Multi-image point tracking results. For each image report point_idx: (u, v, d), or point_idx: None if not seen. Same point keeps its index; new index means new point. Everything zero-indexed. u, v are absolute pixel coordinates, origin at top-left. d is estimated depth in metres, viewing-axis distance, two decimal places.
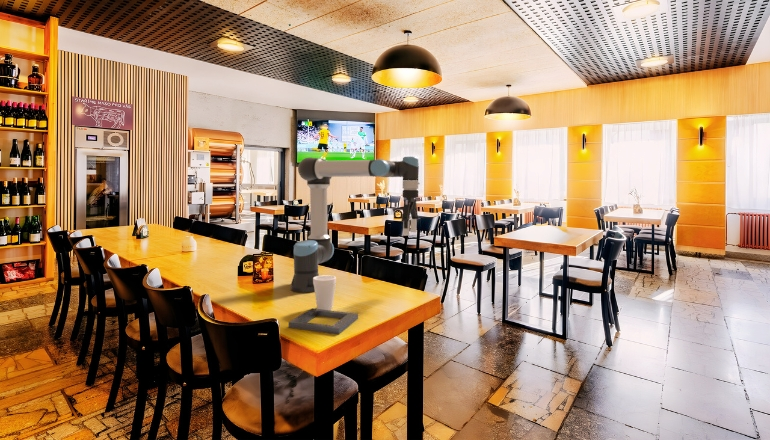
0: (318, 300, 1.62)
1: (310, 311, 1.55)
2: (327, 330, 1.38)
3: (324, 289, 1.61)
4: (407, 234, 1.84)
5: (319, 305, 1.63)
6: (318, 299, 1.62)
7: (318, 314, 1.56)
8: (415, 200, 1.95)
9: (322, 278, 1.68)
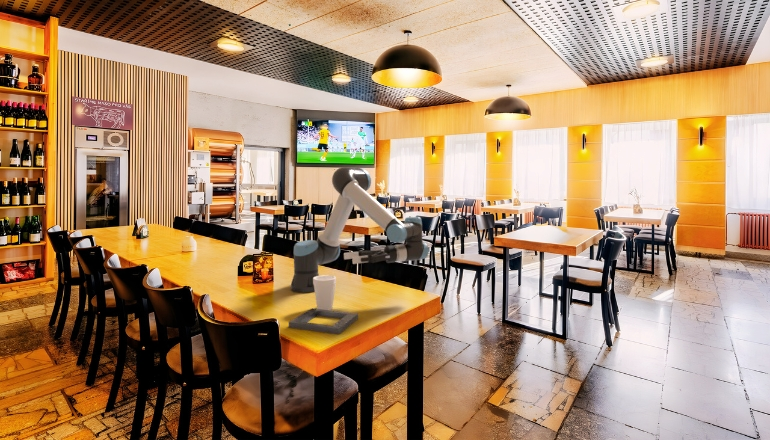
0: (318, 300, 1.62)
1: (310, 311, 1.55)
2: (327, 330, 1.38)
3: (324, 289, 1.61)
4: (354, 262, 1.62)
5: (319, 305, 1.63)
6: (318, 299, 1.62)
7: (318, 314, 1.56)
8: None
9: (322, 278, 1.68)
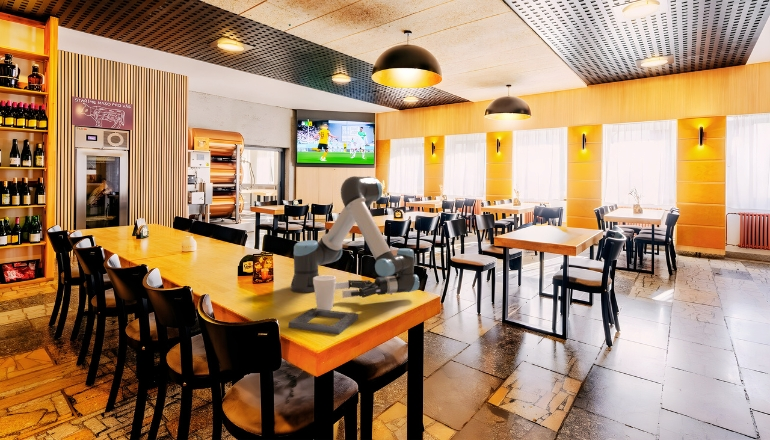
0: (318, 300, 1.62)
1: (310, 311, 1.55)
2: (327, 330, 1.38)
3: (324, 289, 1.61)
4: (344, 296, 1.60)
5: (319, 305, 1.63)
6: (318, 299, 1.62)
7: (318, 314, 1.56)
8: None
9: (322, 278, 1.68)
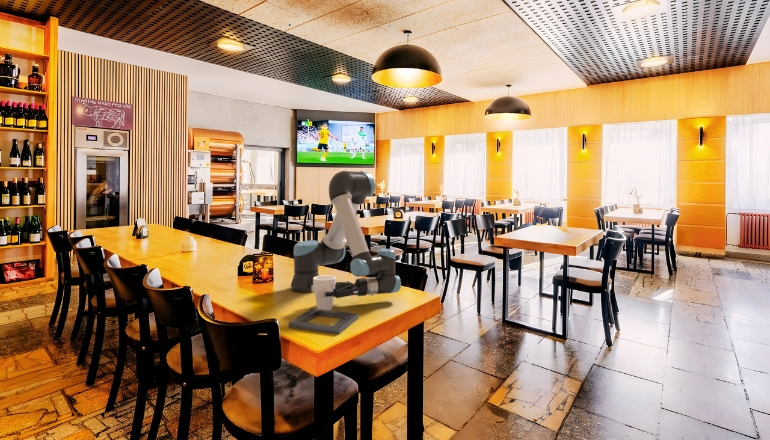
0: (318, 300, 1.62)
1: (310, 311, 1.55)
2: (327, 330, 1.38)
3: (324, 289, 1.61)
4: (318, 296, 1.59)
5: (319, 305, 1.63)
6: (318, 299, 1.62)
7: (318, 314, 1.56)
8: None
9: (322, 278, 1.68)
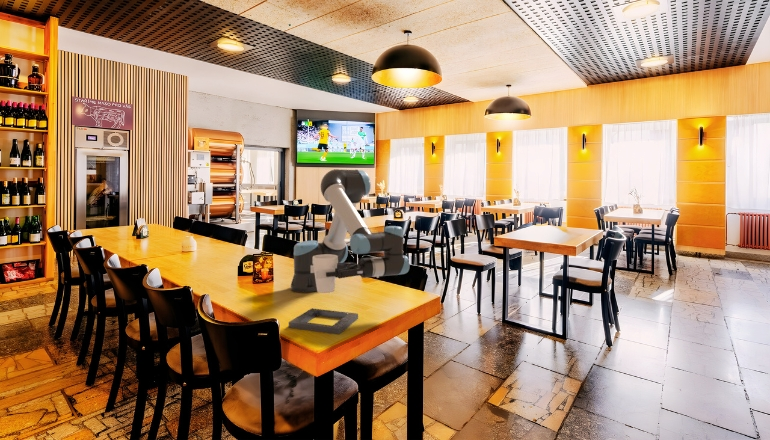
0: (318, 281, 1.45)
1: (310, 311, 1.55)
2: (327, 330, 1.38)
3: (325, 268, 1.44)
4: (318, 276, 1.42)
5: (319, 287, 1.46)
6: (318, 280, 1.45)
7: (318, 314, 1.56)
8: None
9: (322, 257, 1.51)
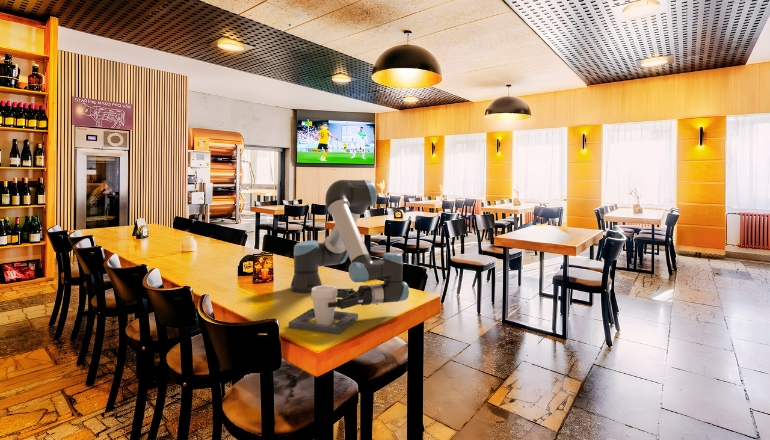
0: (317, 314, 1.45)
1: (310, 311, 1.55)
2: (327, 330, 1.38)
3: None
4: (320, 307, 1.40)
5: (318, 319, 1.45)
6: (317, 313, 1.45)
7: None
8: None
9: (322, 289, 1.51)
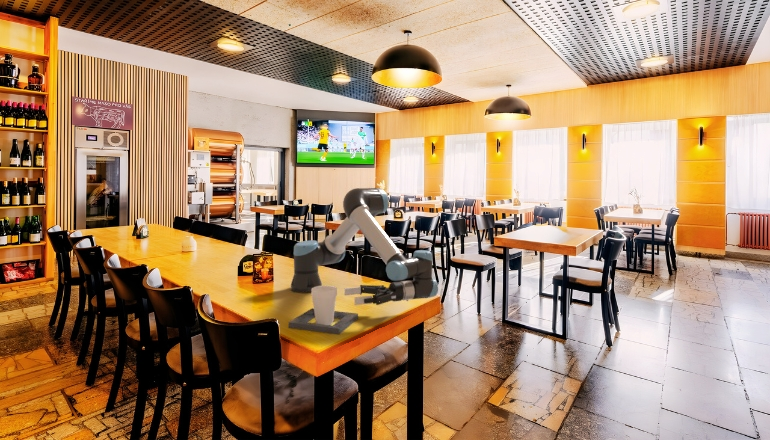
0: (317, 314, 1.45)
1: (310, 311, 1.55)
2: (327, 330, 1.38)
3: (324, 301, 1.43)
4: (356, 303, 1.44)
5: (318, 320, 1.45)
6: (317, 313, 1.45)
7: None
8: None
9: (321, 289, 1.51)
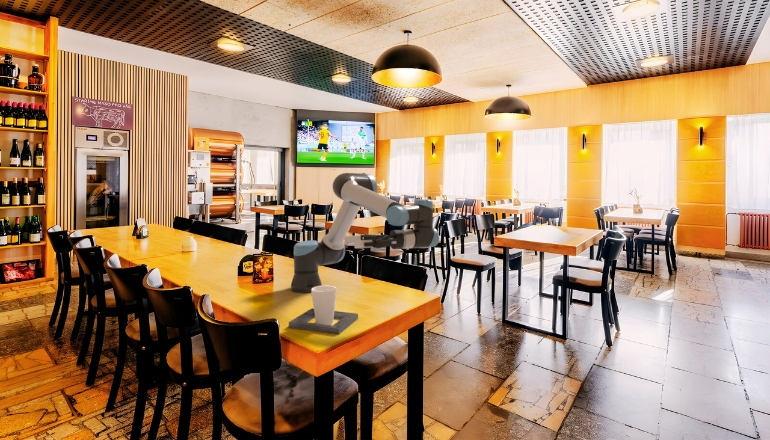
0: (317, 314, 1.45)
1: (310, 311, 1.55)
2: (327, 330, 1.38)
3: (324, 301, 1.43)
4: (356, 246, 1.43)
5: (318, 320, 1.45)
6: (317, 313, 1.45)
7: None
8: None
9: (321, 289, 1.51)
